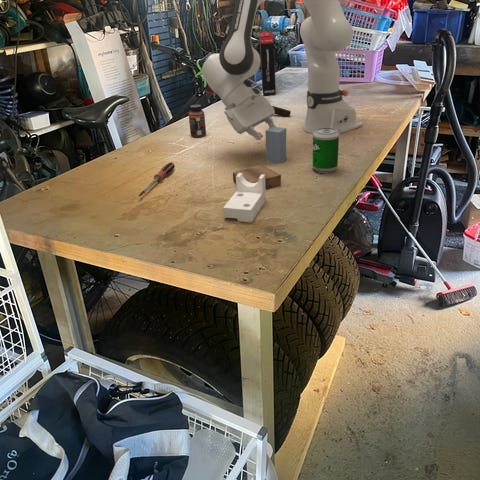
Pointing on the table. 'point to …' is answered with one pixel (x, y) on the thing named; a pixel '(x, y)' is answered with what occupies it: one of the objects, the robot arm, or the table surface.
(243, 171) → the walnut block
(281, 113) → the adjustable wrench
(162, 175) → the screwdriver
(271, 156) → the gray block
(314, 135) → the soda can
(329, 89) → the robot arm
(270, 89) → the graphics card box
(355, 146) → the table surface
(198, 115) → the supplement bottle
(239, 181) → the bracket
